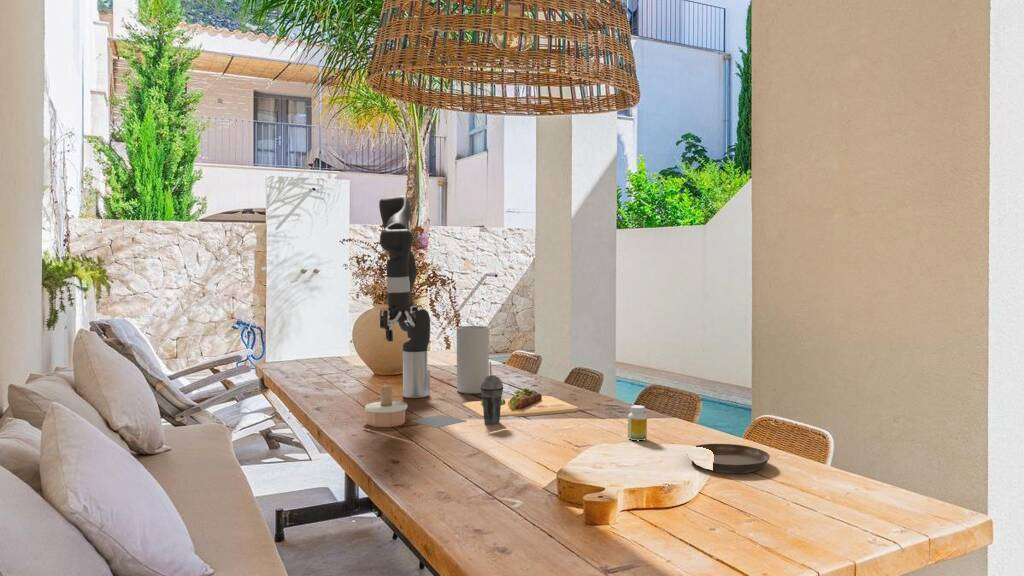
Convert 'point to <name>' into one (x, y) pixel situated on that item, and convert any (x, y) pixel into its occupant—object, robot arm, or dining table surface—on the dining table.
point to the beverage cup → (491, 398)
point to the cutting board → (526, 405)
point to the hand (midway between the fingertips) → (400, 339)
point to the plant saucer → (736, 458)
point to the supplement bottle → (637, 423)
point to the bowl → (385, 419)
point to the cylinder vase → (472, 358)
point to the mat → (438, 421)
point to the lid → (386, 403)
